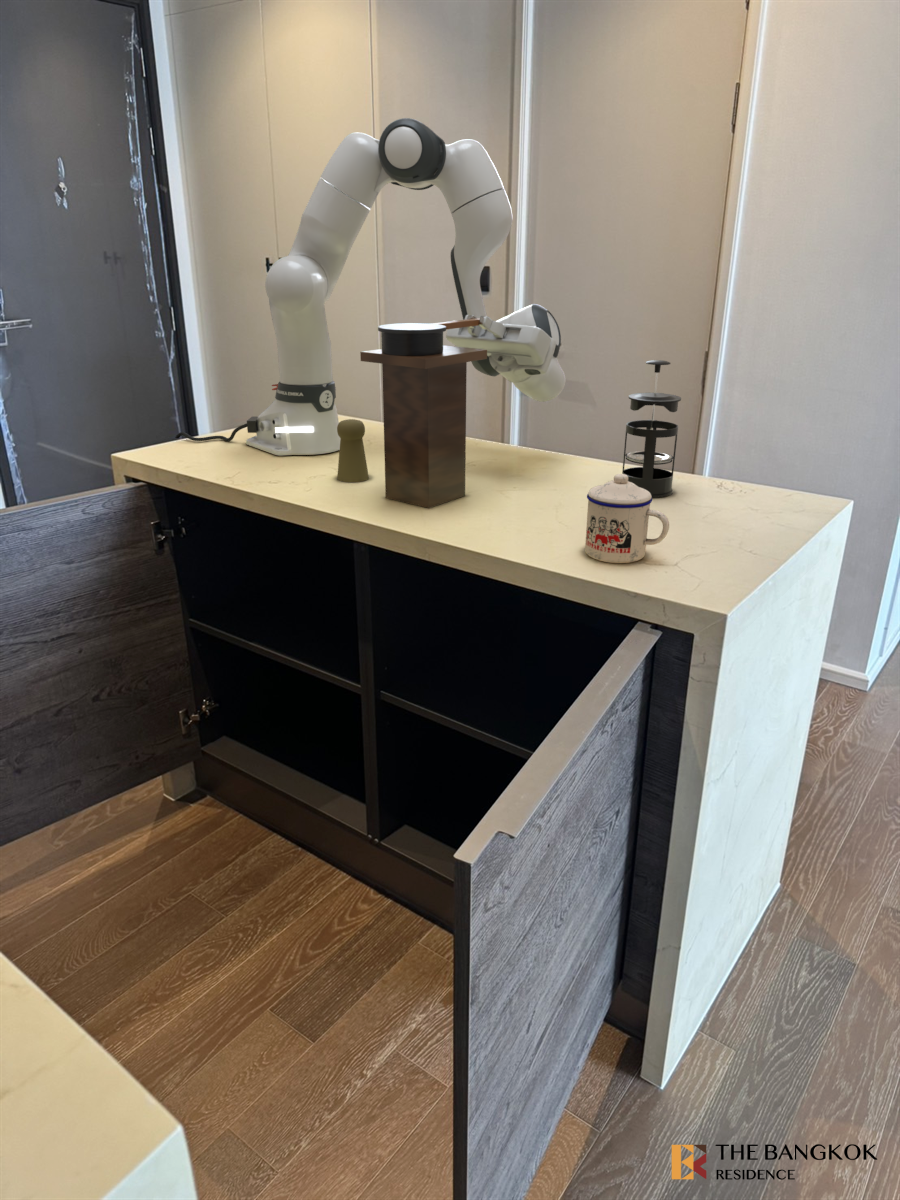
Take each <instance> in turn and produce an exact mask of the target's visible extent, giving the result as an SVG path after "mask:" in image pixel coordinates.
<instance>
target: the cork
mask: <svg viewBox="0 0 900 1200" xmlns="http://www.w3.org/2000/svg"><path fill="white" fill-rule="evenodd" d="M337 432H338V435H339V437H340V438H341V439H340V450H338V451H339V452H338V453H339V454H338V463H337V464H338V465H337V477H336V479H337V480H338V481H340V482H345V483H360V482H364V481H367V480H369V479H370V476H369V470H368V463H367V458H366V452H365V446H364V440H363V438H364V436H365V434H366V427H365V424H364V422H363V421H361V420H359V419H355V418H354V419H353V418H352V419H350V418H349V419H343V420H340V421H339V424H338V426H337Z"/></svg>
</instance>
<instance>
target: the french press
mask: <svg viewBox="0 0 900 1200" xmlns="http://www.w3.org/2000/svg"><path fill="white" fill-rule="evenodd" d="M645 364H646V365H651V366H652V365H654V373H655V378H654V390H653V392H638V393H632V394H629V395H628V399H629V400H630V405H629V406H630V407H629V409H630V410H631V411H633V412H636V411H639V410H640V409H642V408H644V407H645V406H652V410H651V411H652V412H651V419H639V420H631V421H628V422H626V423H625V433H624V435H625V436H624V448H623V457H622V473H621V474H625V475H627V476H628V481H629V482H632V483H634V484H635V485H636V486H638V487H640V488H643V489H645V490H647V491H649V492H650V494H651V496H652V499H658V498H666V497H669V496H671V495H672V494H673V492H674V491H673V490H674V489H673V480H674V472H675V463H676V462H675V461H676V452H677V443H678V442H677V441H678V434H679V425H678V424H676V423H674V422H669V421H665V420H657V419H655V410H656V407H663V408H664V409H666V410H667V411H668V412H670V413H677V411H678V409H679V408H678V407H679V402H681V401H682V397H681V396H679V395H676V394H675V395H674V394H670V393H663V392H657V390H658V380H659V374H660V373H661V366H669V365H671V362H670V361H667V360H662V359H652V360H651V359H650V360H647V361H645ZM628 434H629V435H631V436H635V437H643V438H645V439H644V448H643V449H644V450H635V451H629V452H627V440H628ZM671 437H674V446H673V455H671V454H669V453H666V452H661V451H656V449H657V447H656V446H657V438H659V439H660V438H662V439H663V438H671ZM626 452H627V453H626ZM626 461H628V462H631V463H635V464H639V465H642V466H635V467H627V468H625V464H626V463H625V462H626ZM670 463H672V464H671V465H672V466H671V471H670V470H667V469H663V468H659V467H655V466H658V465H659V466H660V465H668V464H670Z"/></svg>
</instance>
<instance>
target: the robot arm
mask: <svg viewBox="0 0 900 1200" xmlns="http://www.w3.org/2000/svg"><path fill="white" fill-rule="evenodd" d="M388 184H391V185H395V186H400V187H403V188H406V189H409V190H415V191H423V190H428V189H430V188H432V187H434V186H435V187H437V188H438V189H439V190H440V191H441V193H442V195H443V197H444V199H445V201H446V204H447V206H448V209H449V212H450V214H451V217H452V219H453V223H454V228H455V229H454V230H455V236H454V237H455V239H454V245H453V246H452V248H451V250H450V264H451V265H450V266H451V271H452V276H453V281H454V286H455V291H456V294H457V300H458V303H459V308H460V311H461V316H462V320H466V319H475V318H480V320H479V322H478V326H470V327H462V328H454V329H446V334H445V339H446V341H448V342H449V343H451V344H452V345H454V347H465V348H475V349H485V350H487V359H483V360H477V361H470V363H471V364H472V366H473V367H474V369H475V370H476V371H477V372H479V373H481V374H484V375H486V376H490V377H497V376H499V375H501V377H503V378H504V379H505V380H507V381H508V382H510V383H512V384H513V386H514V387H515V388H516V389H518V391H520V392H521V393H522V394H524V395H525V396H527V398H529V399H531V400H533V401H536V402H541V403H546V402H549V401H551V400H553V399H556V398H557V397H558V396H559V395H560V394H561V393H562V392H563V390H564V389H565V386H566V383H567V378H566V373H565V371H564V370H563V368H562V366H561V364H560V362H559V359H558V356H559V353H560V349H561V344H562V336H561V329H560V327H559V324H558V322H557V320H556V318H555V316H554V315H553V313H551V312H550V311H549V309H547V308H545V307H544V306H543V305H540V304H537V303H532V304H529V305H527V306H525V307H522V308H520V309H517V310H516V311H514V312H512V313H510V314H508V315H505V316H503V317H501V318H499V319H497V320H494V319H492V318H491V317H490V316H487V311H486V306H485V301H484V297H483V293H482V287H481V275H482V271H483V270H484V268H485V266H486V265H487V263H488V262H489V260H490V259H491V258H492V257H493V256H494V255H495V253H496V252H497V251H498V250H499V249H500V248H501V247H502V245H503V244H504V243H505V242H506V240H507V238H508V236H509V234H510V231H511V229H512V225H513V219H514V216H513V210H512V206H511V203H510V199H509V197H508V194H507V192H506V189H505V187H504V183H503V181H502V179H501V177H500V175H499V173H498V170H497V167H496V166H495V164H494V162H493V161H492V158H491V157H490V155H489V154H488V151H487V150H486V148H485V147H484V146H483V144H482V143H480V142H479V141H477V140H475V139H469V138H466V139H461V140H457V141H455V142H453V143H450V144H446V143H445V140H443V138H442V137H440V136H439V135H437V134H436V133H435V132H434V130H433V129H432V128H430V127H429V126H427V124H425V123H424V122H422V121H420V120H418V119H414V118H410V117H404V118H398V119H396V120H393V121H392V122H390V123H389V124H388V125H387V126H386V127H385V128H384V129H383V131H382V133H381V135H380V137H379V139H377V138H376V137H375V138H374V137H373V136H372V135H369V134H367V133H364V132H351V133H349V134H347V135H346V136H345V137H344V138H343V139H342V140H341V142H340V143H339V145H338V146H337V148H336V149H335V151H334V152H333V153H332V155H331V156H330V158H329V160H328V161H327V164H326V165H325V167H324V169H323V171H322V172H321V174H320V177H319V179H318V181H317V183H316V185H315V187H314V189H313V192H312V194H311V195H310V198H309V200H308V202H307V204H306V206H305V208H304V211H303V212H302V214H301V217H300V221H299V222H300V223H299V226H298V229H297V232H296V235H295V238H294V240H293V243H292V246H291V249H290V251H289V253H288V255H286V256H283V257H280V258H278V259H277V260H276V261H274V262H273V264H272V265H271V266H270V268H269V270H268V272H267V274H266V277H265V284H264V285H265V286H264V287H265V293H266V296H267V299H268V305H269V310H270V315H271V321H272V325H273V330H274V335H275V339H276V345H277V347H276V349H277V359H278V373H279V382H278V383H276V384H272V385H271V387H274V388H272V389H271V390H272V391H275V396H274V398H275V399H274V400H273V401H272V403H270V404H269V405H268V406H267V407H266V408H265V409H264V410H263V411H262V412H261V413H260V414H259V415H258V416H251V417H250V418H248V419H247V420H246V423H244V424H242V425H239V426H237V427H236V428H234V429H233V431H232V432H231V434H230V436H229V437H226V436H224V435H211V436H206V437H194V436H192V435H190V434H188V433H186V432H184V431H180V432H179V433H177V434H176V436H174V438H175V439H180V438H181V437H182V436H183V437H185V438H186V439H188V440H190V441H193V442H205V441H212V440H222V441H224V442H231V441H233V439H234V438H235V435H236V434H237V433H238V432H239V431H241V430H243V429H245V428H246V430H247V433H248V434H256V435H255V436H251V437H249V438H246V440H245V445H247V446H250V447H253V448H255V449H258V450H261V451H264V452H267V453H269V454H272V455H275V456H292V455H294V456H296V455H297V456H306V455H307V456H308V455H309V456H311V455H313V456H314V455H323V454H329V453H335V452H337V451H340V439H341V438H340V437H339V435H338V432H337V426H338V424H339V422H340V420H339V414H338V409H337V408H338V407H337V405H336V403H335V400H336V398H337V397H336V396H337V395H336V391H337V387H336V382H335V381H334V379H333V378H334V377H333V375H334V374H333V359H332V356H333V355H332V341H331V338H330V333H329V328H328V322H327V321H328V320H327V314H326V306H325V304H327V302H328V301H329V299H330V298H331V297H332V294H333V292H334V290H335V287H336V285H337V283H338V281H339V278H340V276H341V274H342V272H343V270H344V267H345V264H346V262H347V260H348V258H349V254H350V252H351V250H352V248H353V245H354V243H355V241H356V239H357V237H358V235H359V233H360V231H361V229H362V227H363V225H364V224H365V221H366V220H367V217H368V215H369V214H370V212H371V209H372V208H373V206H374V204H375V201H376V199H377V198H378V196H379V194H380V192H381V191H382V189H383V188H384V187H386V185H388ZM451 321H457V319H453V320H451Z"/></svg>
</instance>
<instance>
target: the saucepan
mask: <svg viewBox="0 0 900 1200" xmlns="http://www.w3.org/2000/svg"><path fill="white" fill-rule="evenodd" d="M456 320H457V319H456ZM479 320H480V318H475V319H466V320H463V319H458V320H457V321H452V320H449V321H442V322H432V323H425V322H424V323H423V322H422V323H421V322H418V323H417V322H406V323H405V322H404V323H403V322H401V323H400V322H399V323H387V324H386V323H385V324H380V325H377V331H378V332H380V337H381V339H380V340H381V349H382V353H384V354H388V355H396V356H428V355H436V354H441V353H443V345H444V332H447V330H448V329H454V328H462V327H470V326H478V322H479Z"/></svg>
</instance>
